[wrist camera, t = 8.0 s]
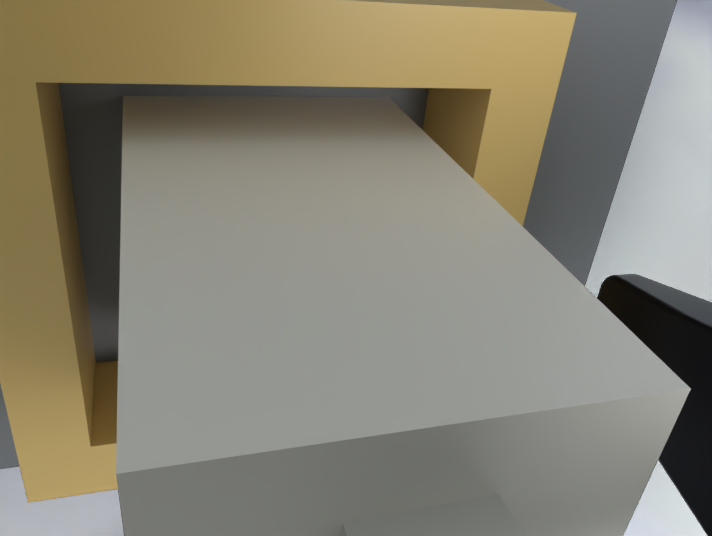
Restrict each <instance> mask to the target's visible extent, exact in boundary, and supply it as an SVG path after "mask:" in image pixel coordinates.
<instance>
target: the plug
mask: <svg viewBox="0 0 712 536" xmlns="http://www.w3.org/2000/svg"><path fill="white" fill-rule="evenodd" d="M690 390H691V388H690V387H689V386H688V385H687V384H685V383H684V382H683V381H682V380H681V379H680V378H679V377H678V376H677V375H676V374H675V373H674V372H673V371H672V370H671V369H670V368H669V367H668V366H667V365H666V364H665V363H664V362H663V361H662V360H661V359H660V358H659V357H657V356H656V355H655V354H654V353H653V352H652V351H651V350H650V349H649V348H648V347H647V346H646V345H645V344H644V343H643V342H642V341H641V340H640V339H639V338H638V337H637V336H636V335H635V334H634V333H633V332H632V331H630V330H629V329H628V328H627V327H626V326H625V325H624V324H623V323H622V322H621V321H620V320H619V319H618V318H617V317H616V316H615V315H614V314H613V313H612V312H611V311H610V310H609V309H608V308H607V307H606V306H605V305H604V304H602V303H601V302H600V301H599V300H598V299H597V298H596V297H595V296H594V295H593V294H592V293H591V292H590V291H589V290H588V289H587V288H586V287H585V286H584V285H583V284H582V283H581V282H580V281H579V280H578V279H577V278H575V277H574V276H573V275H572V274H571V273H570V272H569V271H568V270H567V269H566V268H565V267H564V266H563V265H562V264H561V263H560V262H559V261H558V260H557V259H556V258H555V257H554V256H553V255H552V254H551V253H550V252H549V251H547V250H546V249H545V248H544V247H543V246H542V245H541V244H540V243H539V242H538V241H537V240H536V239H535V238H534V237H533V236H532V235H531V234H530V233H529V232H528V231H527V230H526V229H525V228H524V227H523V226H522V225H521V224H519V223H518V222H517V221H516V220H515V219H514V218H513V217H512V216H511V215H510V214H509V213H508V212H507V211H506V210H505V209H504V208H503V207H502V206H501V205H500V204H499V203H498V202H497V201H496V200H495V199H494V198H492V197H491V196H490V195H489V194H488V193H487V192H486V191H485V190H484V189H483V188H482V187H481V186H480V185H479V184H478V183H477V182H476V181H475V180H474V179H473V178H472V177H471V176H470V175H469V174H468V173H467V172H466V171H464V170H463V169H462V168H461V167H460V166H459V165H458V164H457V163H456V162H455V161H454V160H453V159H452V158H451V157H450V156H449V155H448V154H447V153H446V152H445V151H444V150H443V149H442V148H441V147H440V146H439V145H438V144H436V143H435V142H434V141H433V140H432V139H431V138H430V137H429V136H428V135H427V134H426V133H425V132H424V131H423V130H422V129H421V128H420V127H419V126H418V125H417V124H416V123H415V122H414V121H413V120H412V119H411V118H409V117H408V116H407V115H406V114H405V113H404V112H403V111H402V110H401V109H400V108H399V107H398V106H397V105H396V104H395V103H394V102H393V101H392V100H391V99H390V98H389V97H280V96H123V122H122V176H121V230H120V284H119V338H118V391H117V445H116V478H117V485H118V493H119V500H120V508H121V515H122V523H123V530H124V536H623V535H624V533H625V531H626V528H627V526H628V524H629V522H630V520H631V518H632V515H633V513H634V511H635V509H636V507H637V505H638V502H639V500H640V498H641V496H642V494H643V492H644V489H645V487H646V485H647V483H648V481H649V479H650V476H651V474H652V472H653V470H654V468H655V466H656V463H657V461H658V459H659V457H660V455H661V453H662V450H663V448H664V446H665V444H666V442H667V440H668V437H669V435H670V433H671V431H672V429H673V427H674V424H675V422H676V420H677V418H678V416H679V414H680V411H681V409H682V407H683V405H684V403H685V401H686V398H687V396H688V394H689V392H690Z"/></svg>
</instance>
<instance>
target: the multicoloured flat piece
mask: <svg viewBox="0 0 712 536" xmlns="http://www.w3.org/2000/svg"><path fill="white" fill-rule="evenodd" d="M676 3H677V0H0V469H4V468H11V467H19V466H20V470H21V474H22V478H23V483H24V487H25V491H26V496H27V500H28V503H29V502H35V501H42V500H48V499H55V498H62V497H68V496H75V495H81V494H88V493H95V492H101V491H108V490H114V489H118V485H117V478H116V445H117V391H118V338H119V284H120V230H121V176H122V122H123V96H280V97H389V98H390V99H391V100H392V101H393V102H394V103H395V104H396V105H397V106H398V107H399V108H400V109H401V110H402V111H403V112H404V113H405V114H406V115H407V116H408V117H409V118H411V119H412V120H413V121H414V122H415V123H416V124H417V125H418V126H419V127H420V128H421V129H422V130H423V131H424V132H425V133H426V134H427V135H428V136H429V137H430V138H431V139H432V140H433V141H434V142H435V143H436V144H438V145H439V146H440V147H441V148H442V149H443V150H444V151H445V152H446V153H447V154H448V155H449V156H450V157H451V158H452V159H453V160H454V161H455V162H456V163H457V164H458V165H459V166H460V167H461V168H462V169H463V170H464V171H466V172H467V173H468V174H469V175H470V176H471V177H472V178H473V179H474V180H475V181H476V182H477V183H478V184H479V185H480V186H481V187H482V188H483V189H484V190H485V191H486V192H487V193H488V194H489V195H490V196H491V197H492V198H494V199H495V200H496V201H497V202H498V203H499V204H500V205H501V206H502V207H503V208H504V209H505V210H506V211H507V212H508V213H509V214H510V215H511V216H512V217H513V218H514V219H515V220H516V221H517V222H518V223H519V224H521V225H522V226H523V227H524V228H525V229H526V230H527V231H528V232H529V233H530V234H531V235H532V236H533V237H534V238H535V239H536V240H537V241H538V242H539V243H540V244H541V245H542V246H543V247H544V248H545V249H546V250H547V251H549V252H550V253H551V254H552V255H553V256H554V257H555V258H556V259H557V260H558V261H559V262H560V263H561V264H562V265H563V266H564V267H565V268H566V269H567V270H568V271H569V272H570V273H571V274H572V275H573V276H574V277H575V278H577V279H578V280H579V281H580V282H581V283H582V284H583V285H584V286H585V284H586V281H587V277H588V274H589V271H590V268H591V265H592V262H593V259H594V256H595V253H596V250H597V247H598V243H599V240H600V237H601V234H602V231H603V228H604V225H605V222H606V219H607V216H608V213H609V210H610V206H611V203H612V200H613V197H614V194H615V191H616V188H617V185H618V182H619V179H620V176H621V172H622V169H623V166H624V163H625V160H626V157H627V154H628V151H629V148H630V145H631V142H632V139H633V135H634V132H635V129H636V126H637V123H638V120H639V117H640V114H641V111H642V108H643V105H644V101H645V98H646V95H647V92H648V89H649V86H650V83H651V80H652V77H653V74H654V71H655V68H656V64H657V61H658V58H659V55H660V52H661V49H662V46H663V43H664V40H665V37H666V34H667V30H668V27H669V24H670V21H671V18H672V15H673V12H674V9H675V6H676Z"/></svg>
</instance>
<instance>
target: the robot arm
mask: <svg viewBox="0 0 712 536" xmlns="http://www.w3.org/2000/svg"><path fill="white" fill-rule="evenodd" d="M597 299H598V300H599V301H600V302H601V303H602V304H604V305H605V306H606V307H607V308H608V309H609V310H610V311H611V312H612V313H613V314H614V315H615V316H616V317H617V318H618V319H619V320H620V321H621V322H622V323H623V324H624V325H625V326H626V327H627V328H628V329H629V330H630V331H632V332H633V333H634V334H635V335H636V336H637V337H638V338H639V339H640V340H641V341H642V342H643V343H644V344H645V345H646V346H647V347H648V348H649V349H650V350H651V351H652V352H653V353H654V354H655V355H656V356H657V357H659V358H660V359H661V360H662V361H663V362H664V363H665V364H666V365H667V366H668V367H669V368H670V369H671V370H672V371H673V372H674V373H675V374H676V375H677V376H678V377H679V378H680V379H681V380H682V381H683V382H684V383H685V384H687V385H688V386H689V387H690V388H691V390H690V392H689V394H688V396H687V398H686V401H685V403H684V405H683V407H682V409H681V411H680V414H679V416H678V418H677V420H676V422H675V424H674V427H673V429H672V431H671V433H670V435H669V437H668V440H667V442H666V444H665V446H664V448H663V450H662V453H661V455H660V457H659V459H658V460H659V462H660V463H661V465H662V466H663V468H664V470H665V471H666V473H667V474H668V476H669V477H670V479H671V480H672V482H673V483H674V485H675V486H676V488H677V490H678V491H679V493H680V494H681V496H682V497H683V499H684V500H685V502H686V503H687V505H688V506H689V508H690V510H691V511H692V513H693V514H694V516H695V517H696V519H697V520H698V522H699V523H700V525H701V526H702V528H703V530H704V531H705V533H706V534H707V536H712V302H709V301H706V300H704V299H701V298H698V297H696V296H693V295H690V294H688V293H685V292H682V291H680V290H677V289H674V288H672V287H669V286H666V285H664V284H661V283H658V282H656V281H653V280H650V279H648V278H645V277H642V276H640V275H636V274H624V275H612V276H610V277H608V278H606V279H605V280H604V282H603V283H602V285H601V288H600V291H599V294H598V297H597Z"/></svg>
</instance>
